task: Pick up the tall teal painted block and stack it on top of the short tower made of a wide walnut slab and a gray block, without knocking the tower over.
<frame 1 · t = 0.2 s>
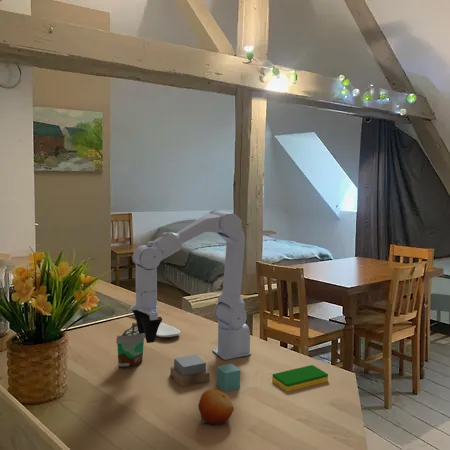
hand: (146, 337, 142), 10 cm above the worktop, tool pointing down, fingers open, 7 cm apart
gray block: (189, 369, 140), point 2 cm above the worktop, touching walnut slab
walnut slab: (189, 380, 140), on the worktop, touching gray block
fruit: (215, 421, 118), on the worktop
food container: (135, 363, 149), on the worktop, touching gripper
teal block: (228, 386, 136), on the worktop
dish sponge: (300, 383, 140), on the worktop
spoon: (155, 327, 181), on the worktop
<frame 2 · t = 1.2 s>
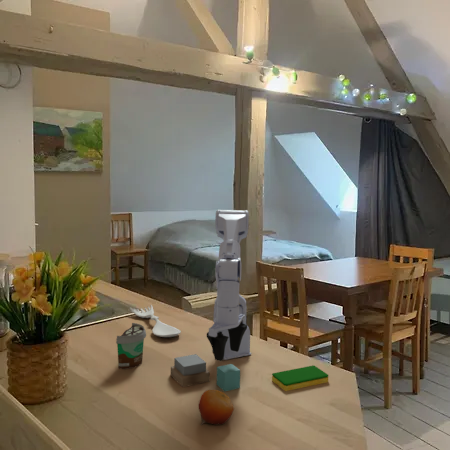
hand: (226, 355, 135), 8 cm above the worktop, tool pointing down, fingers open, 7 cm apart
food container: (135, 363, 149), on the worktop
everything else where it was.
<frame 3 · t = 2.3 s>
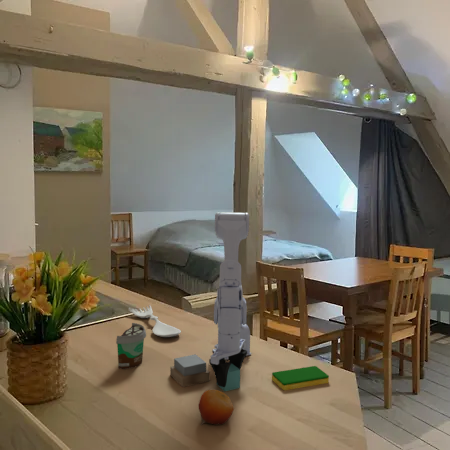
hand: (228, 381, 135), 1 cm above the worktop, tool pointing down, fingers closed on teal block, 6 cm apart
teal block: (228, 386, 136), on the worktop, touching gripper
everything else where it was.
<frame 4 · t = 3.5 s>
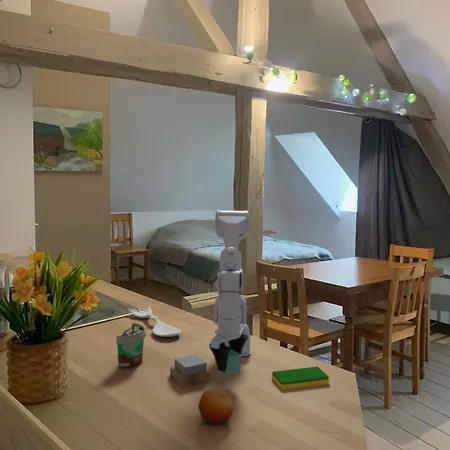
hand: (228, 365, 135), 6 cm above the worktop, tool pointing down, fingers closed on teal block, 6 cm apart
teal block: (228, 371, 135), point 4 cm above the worktop, touching gripper
everything else where it was.
when the fingers open (9 cm above the worktop, at t = 4.4 s): teal block drops 2 cm, point 5 cm above the worktop.
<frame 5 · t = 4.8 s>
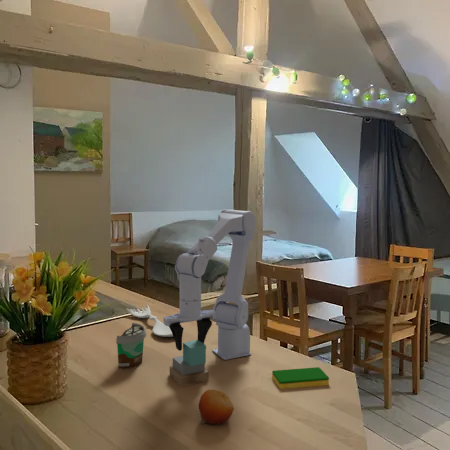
hand: (189, 347, 139), 9 cm above the worktop, tool pointing down, fingers open, 6 cm apart
teal block: (194, 361, 139), point 5 cm above the worktop, touching gripper
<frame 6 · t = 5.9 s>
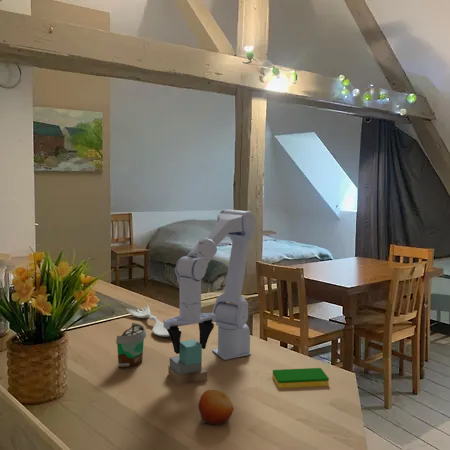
hand: (189, 350, 139), 8 cm above the worktop, tool pointing down, fingers open, 7 cm apart
gray block: (185, 368, 140), point 2 cm above the worktop, touching teal block, walnut slab
teal block: (190, 360, 139), point 5 cm above the worktop, touching gray block
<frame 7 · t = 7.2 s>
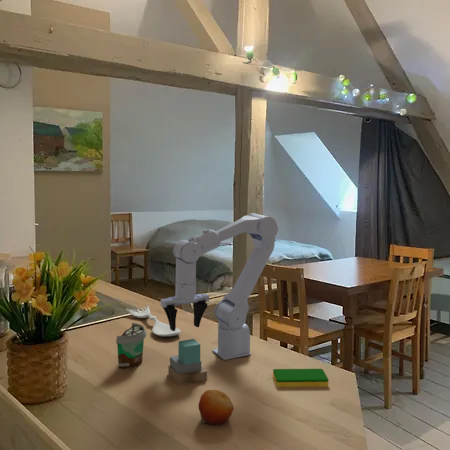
hand: (184, 328, 149), 10 cm above the worktop, tool pointing down, fingers open, 7 cm apart
gray block: (185, 367, 141), point 2 cm above the worktop, touching walnut slab
teal block: (189, 360, 140), point 5 cm above the worktop
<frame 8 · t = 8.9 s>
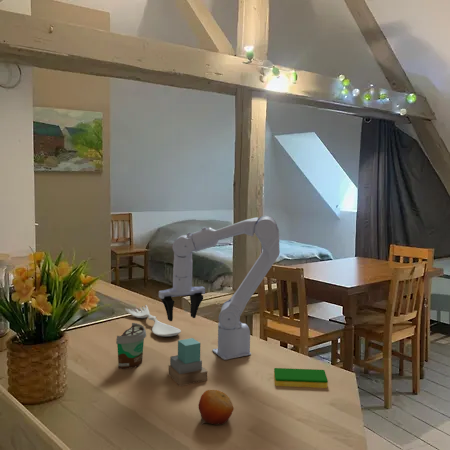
hand: (181, 318, 157), 10 cm above the worktop, tool pointing down, fingers open, 7 cm apart
gray block: (185, 367, 141), point 2 cm above the worktop, touching teal block, walnut slab
teal block: (188, 359, 140), point 5 cm above the worktop, touching gray block
at the end: teal block 0.3 cm off-centre on the walnut slab, point 5.5 cm above the walnut slab's base; gray block 0.8 cm off-centre on the walnut slab, point 3.0 cm above the walnut slab's base; teal block tilted 0° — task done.
